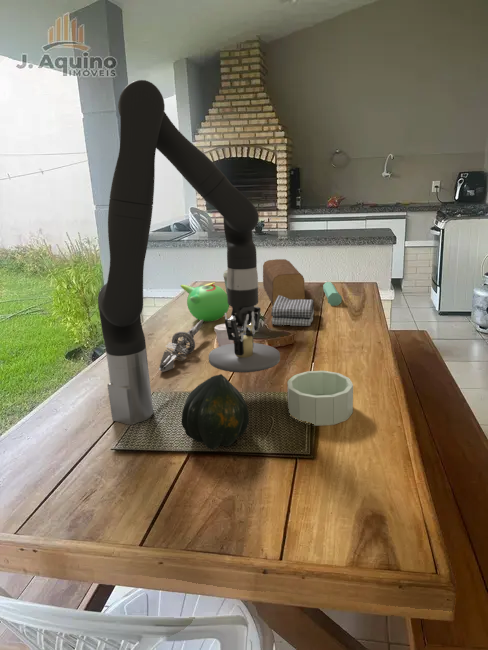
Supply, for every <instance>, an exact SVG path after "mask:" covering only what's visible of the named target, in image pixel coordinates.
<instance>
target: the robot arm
mask: <svg viewBox="0 0 488 650" xmlns="http://www.w3.org/2000/svg"><path fill="white" fill-rule="evenodd" d="M118 98H119V99H118V104H117V109H118V113H119V117H120V126H119V127H120V128H119V129H120V131H119V132H120V137H119V138H120V139H119V149H118V156H117V160H116V164H115V168H114V172H113V177H112V180H111V181H112V182H111V187H110V193H109V199H108V200H109V203H108V204H109V205H108V212H107V234H108V235H107V236H108V237H107V239H108V248H109V269H108V275H107V282H106V283H105V284H104V285H102V287H101V288H100V290H99V292H98V297H97V303H98V312H99V318H100V326H101V331H102V336H103V342H104V347H105V353H106V354H105V355H106V360H107V361H106V362H107V368H108V376H109V383H107V391H108V398H109V400H108V401H109V405H110V413H111V419H112V421H114V422H116V423H117V422H119V423H121V424H125V425H128V426H132V425H134V424H138V423H141V422H144V421H146V420H148V419H149V417H150V416H151V415H152V414H153V415H154V406H153V405H154V404H153V398H152V395H153V394H152V388H151V380H150V371H149V362H148V354H147V343H146V336H145V333H144V330H143V329H144V328H143V325H142V321H141V314H142V311H143V309H144V307H143V306H144V268H145V259H146V257H147V256H146V255H147V250H148V243H149V239H150V230H151V224H152V218H153V217H152V216H153V208H154V207H153V206H154V193H155V171H156V170H155V169H156V168H155V167H156V165H155V164H156V153H157V151H159V152H160V153H161V154H162V155H163V156H164V157H165V158H166V160H168V161H169V162H170V163H171V165H172V166H173V167H174V168H175V169H176V170H177V171H178V173H179V174H181V176H182V177H183V178H184V179H185V180H186V182H187V183H188V184H189V185H190V186H191V187H192V188H193V189H194V190H195V191H196V193H198V195H199V196H200V197H201V198H202V199H203V200H204V201H205V202H206V203H208V204H209V205H211V207H213V208H214V209H216V211H217V212H218V213H219V214H220V215H221V217H223V219H222V220H223V229H224V237H225V242H226V250H227V251H226V260H227V261H226V262H227V293H226V294H227V298H228V304H229V307H231V308H232V309H231V315H230V316H231V317H229V318H228V317H227V318H226V319H225V318H224V324H225V325H226V330H227V334H228V339H229V340H233V344H234V352H235V354H236V355H240V356H241V355H243V354H244V347H243V337H244V335H248V336H252V337H253V338H254V335H255V333H256V331H258V329H259V324H260V315H261V307H260V306H257V305H258V303H259V276H258V274H259V273H258V267H257V263H258V261H257V247H256V245H255V243H254V240H253V231H254V229H256V227H257V226H258V224H259V212H258V210H257V208H256V206H255V205H254V204H253V203H252V201H251V200H250V199H248V197H247V196H245V195H244V193H242V192H241V191H240V190H239V189H237V187H235V186H234V185H233V184H232V183H231V182H230V180H229V179H228V178H227V176H226V175H225V174H224V173H223V172H222V171H221V170H220V169H219V167H218V166H217V165H216V164H215V163H214V162H213V161H212V160H211V159H210V158H209V157H208V156H207V155H206V154H205V153H203V151H202V150H200V148H198V147H197V146H195V144H193V143H192V142H191V141H190V140H189V139H188V138H187V137H186V136H184V135H183V133H182V132H181V131H180V130H179V129H178V128H177V127H176V126H175V124H174V123H173V122H172V121H171V119H170V117H168V115H167V113H166V112H165V110H166V109H165V100H164V97H163V94H162V92H161V91H160V89H159V88H158V87H157V86H156V85H155V84H154V83H152V82H150V80H149V81H148V80H146V79H137V80H134V81H132V82H130V83H128V84H127V85H126V86H125V87H124V88H123V89H122V90H121V93H120V95H119V97H118ZM232 333H233V335H232ZM153 415H152V416H153ZM152 416H151V417H152ZM151 417H150V418H151ZM147 418H148V419H147ZM143 420H144V421H143ZM137 422H138V423H137Z"/></svg>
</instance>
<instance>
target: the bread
mask: <svg viewBox="0 0 488 650" xmlns="http://www.w3.org/2000/svg"><path fill="white" fill-rule="evenodd" d="M262 284H263V289H264V291H265V293H266V295H267V297H268V298H269V301H270V303H271V305H272V306H273V305H274V303H275V301H276V299H277V297H278V296H279V295H280V296H283V297H286V298H288V299H290V300H296V299H298V300H300V299H301V300H302V299H304V300H305V299H306V293H305V292H306V289H305V278H304V276H303V274H301V272H300V271H298V269H297V268H296V267H295V266H294V265H293V264H292V263H291V262H290V260H287V259H285V258H284V259H283V258H280V259H279V258H278V259H277V258H276V259H268V260H266V261H264V263H263V265H262Z"/></svg>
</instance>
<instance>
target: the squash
mask: <svg viewBox="0 0 488 650" xmlns="http://www.w3.org/2000/svg"><path fill="white" fill-rule="evenodd" d="M181 413H182V414H181V421H180V422H181V426H182V427H183V429H184V431H185V434H186V436H188V437H189V438H190V439H192V440H194V441H195V442H198V443H203V444H204V445H205V447H206V448H207V449H209V450H216V449H218V448H219V447H220V446H222V447H229V446H231V445H232V444H234V443H235V442H236V441H237V439H238V438H240V437H241V436H243V435H244V434H245V432H246V430H248V429H247V428H248V427H249V421H250V415H249V409H248V404H247V402H246V401H245V398H244V397H243V395H242V394H241V392H240V391H239V390H238V389H237V387H235V386H234V385H233V384H232V383H231V382H230V381H229V379H227V377H225V376H224V375H223V374H222V373H220V374H217V375H216V374H215V375H212V376H211V377H209V378H207V379H206V380H205V381H203V382H201V383H200V384H198V385H197V386H196V387H195V388H194V389H193V390H191V392H190V393H189V394H188V396H187V398H186V400H185V402H184V405H183V407H182V412H181Z"/></svg>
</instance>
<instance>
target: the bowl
mask: <svg viewBox="0 0 488 650" xmlns="http://www.w3.org/2000/svg"><path fill="white" fill-rule="evenodd" d="M287 409H289V410H288V414H289V413H290V414H291V415H292V416H294V417H296V418H297V419H299V420H302V421H307V422H310V423H312V424H314V425H313V426H315V427H317V426H335V425H337V424H341V423H343V422H345V421H348V420H349V418H350V417H351V415H352V414H353V413H354V384H353V382H352V380H351V379H350V377H348V376H345V374H342V373H340V372H333V371H330V370H329V371H327V370H308V371H304V372H300V373H297V374H294V375H293V376H292V377H291V378H290V379H288V380H287Z"/></svg>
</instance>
